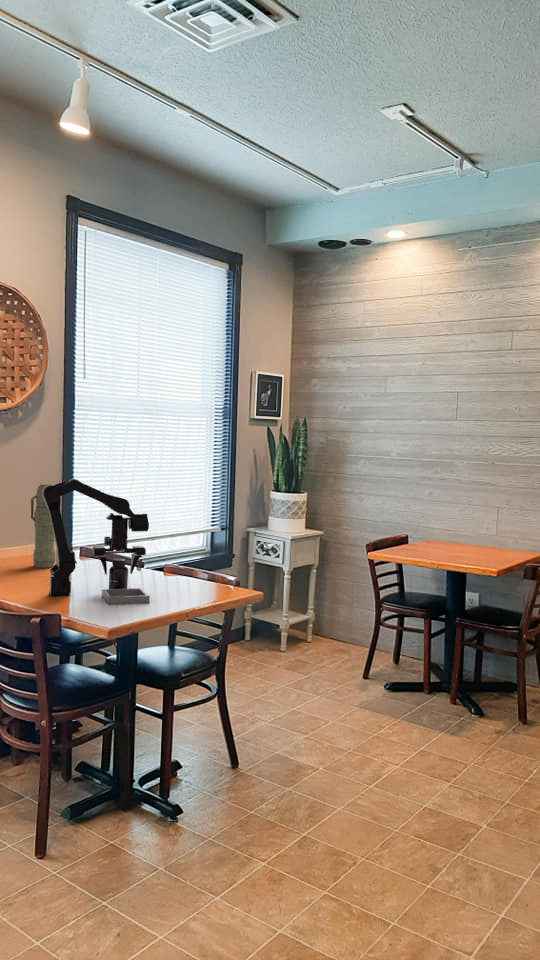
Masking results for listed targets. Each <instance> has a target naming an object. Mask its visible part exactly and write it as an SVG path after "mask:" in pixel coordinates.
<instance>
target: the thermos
mask: <svg viewBox="0 0 540 960" xmlns="http://www.w3.org/2000/svg"><path fill="white" fill-rule="evenodd" d="M45 485H46V484H40V485H38V486H37V489H36V493H35V495H34V496H32V497H31V498H30V519H31V520H32V521H33V522H34V524H33V525H34V529H35V532H34V550H33V555H32V556H33V559H32V560H33V568H36V569H51V568H53V567H54V566H55V565H56V550H55V539H54V534H53V529H52V525H51V520H50V515H49V511H48V509H47V507H46V504H45V502H44V500H43V497H42V495H41V490H42V488H43V487H44V486H45ZM35 499H36V501H35V502H36V507H35V511H34V504H35V502H34V500H35Z"/></svg>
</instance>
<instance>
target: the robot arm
mask: <svg viewBox="0 0 540 960" xmlns="http://www.w3.org/2000/svg"><path fill="white" fill-rule="evenodd" d="M44 485H45V486H44V487H43V488H42V490H41V495H42V497H43V500H44V502H45V504H46V507H47V509H48V511H49V515H50V520H51V525H52V529H53V534H54V544H55V547H56V548H55V549H56V550H55V566H54V567H52V568H49V569H50V570H49V572H50V573H49V574H50V575H51V576H50V578H49V583H50V584H49V595H50V597H66V596H70V595H71V591H72V590H71V587H72V581H71V580H70V576H71V574H73V572H74V571H75V569H76V564H78V562H77V561H76V554H75V553H76V552H75V551H73V550H72V549H69V546H68V542H67V536H66V532H65V526H64V523H63V522H64V521H63V517H62V512H61V501H62V499H61V497H62V496H65V495H67V494H69V493H71V492H74V491H75V492H77V493H80V494H82V495H84V496H86V497H88V498H91V499H93V500H95V501H97V502H100V503H101V504H103V505H104V506H106V507H107V508H109V509H110V510H111V511H113V512H115V513H116V514H114V513H112V512H110V514H109V515H108V516H106V517H105V519H106V520H108V521H111V536H104V539H103V540H104V544H103V545H104V546H102V545H99V546H97V545H96V546H93V547H92V549H91V554H92V555H93V556H94V557H96V559H99V561H100V562H101V565H102V568H103V572H104V575H107V574H108V569H107V568H108V566H107V565H108V564H107V556H106V554H130V555H131V557H130V558H131V561H130V568H129V574H130V575H132V574H133V572H134V570H135V567H136V565H137V563H138V562H139V560H140V558H143V556H146V554H147V552H146V551H147V549H146V547H144V546H143V545H132V547H128V538H129V537H128V534H129V533H128V529H129V530H131V532H134V533H135V532H139V533H140V532H148V531H149V528H150V523H149V518H148V513H146V512H142V513H134V512H133V511H132V509H131V508H130V503H129V502H130V501H129V500H127V499H126V498H122V497H120V496H117V495H113V494H109V493H106V492H103V491H102V490H99V489H96V488H94V487H92V486H90V485H88V484H86V483H83V482H81V481H80V480H78V479H76V478H71V479H68V480H66V481H62V482H59V483H56V484H49V483H48V484H44ZM123 515H124V516H126V517H123ZM105 546H107V547H108V548H106V547H105Z"/></svg>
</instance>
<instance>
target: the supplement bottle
mask: <svg viewBox="0 0 540 960" xmlns="http://www.w3.org/2000/svg"><path fill="white" fill-rule="evenodd" d="M111 563H112V566H110V567H109V569H108V571H109V572H108V589H128V580H129V569H128V567H127V566H126V563H127V562H126V559H125V558H113V559H112V562H111Z"/></svg>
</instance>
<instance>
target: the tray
mask: <svg viewBox="0 0 540 960" xmlns="http://www.w3.org/2000/svg"><path fill="white" fill-rule="evenodd" d="M150 597H151V596H150V595H149V593H147V592H146V591H145V590H144V589H143V588H142V587H137V588H136V587H134V588H127V589H109V588H107V589H105V588H104V589H101V598H102V599H103V600H104V601H105V602H106V603H107V605H109V606H110V605H111V606H112V605H113V606H114V605H134V604H135V605H137V604H150Z"/></svg>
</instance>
